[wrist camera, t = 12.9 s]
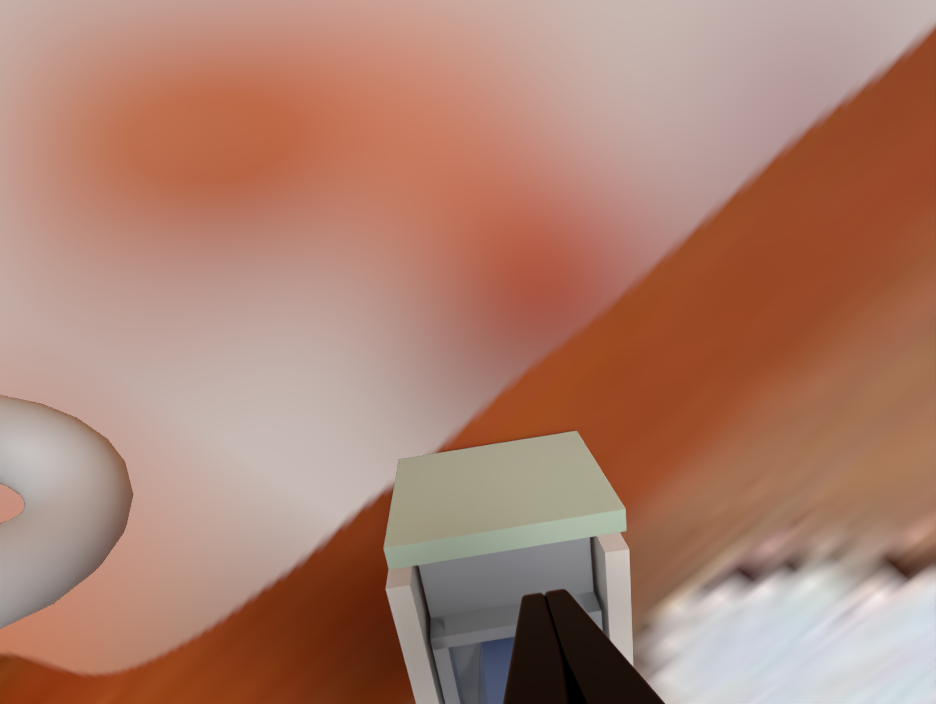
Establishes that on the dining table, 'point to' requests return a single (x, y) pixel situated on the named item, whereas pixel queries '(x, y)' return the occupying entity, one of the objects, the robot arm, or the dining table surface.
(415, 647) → the beige low rectangular frame
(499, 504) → the tray
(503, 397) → the dining table surface
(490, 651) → the blue beige tall block
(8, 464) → the donut
